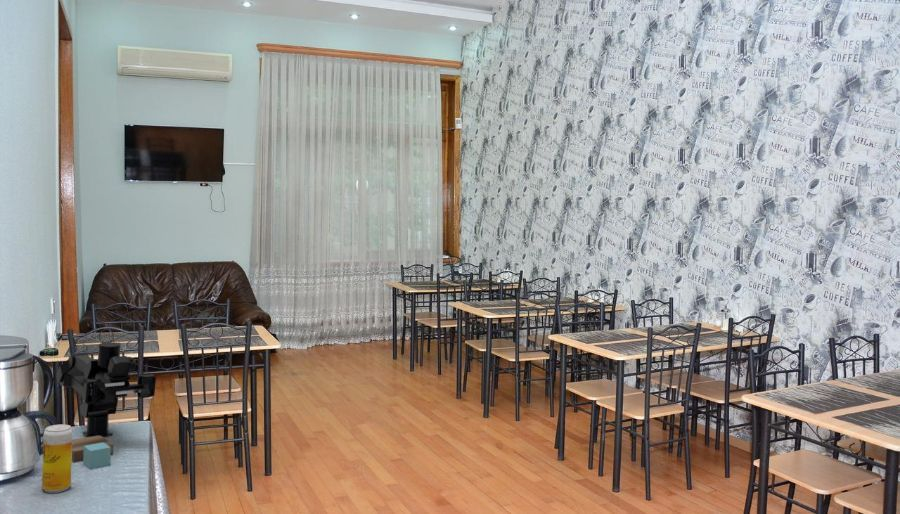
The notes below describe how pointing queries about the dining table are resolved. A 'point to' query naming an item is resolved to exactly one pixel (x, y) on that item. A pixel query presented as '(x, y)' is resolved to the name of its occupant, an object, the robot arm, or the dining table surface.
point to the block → (96, 455)
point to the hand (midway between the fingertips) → (131, 397)
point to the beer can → (57, 458)
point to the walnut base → (80, 443)
